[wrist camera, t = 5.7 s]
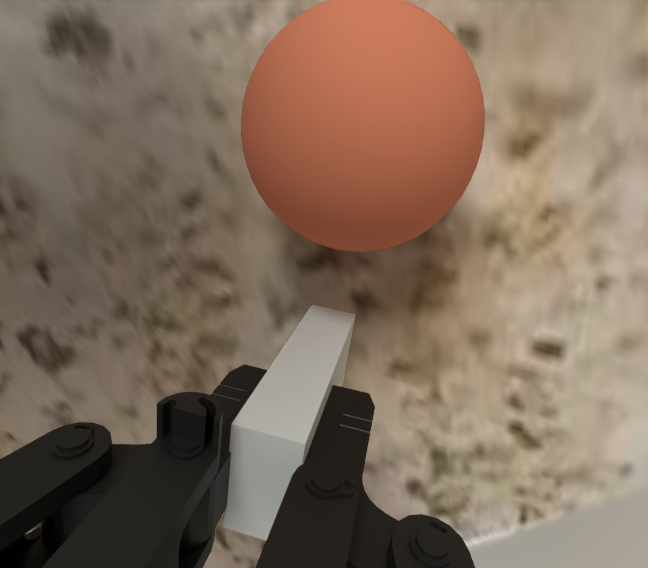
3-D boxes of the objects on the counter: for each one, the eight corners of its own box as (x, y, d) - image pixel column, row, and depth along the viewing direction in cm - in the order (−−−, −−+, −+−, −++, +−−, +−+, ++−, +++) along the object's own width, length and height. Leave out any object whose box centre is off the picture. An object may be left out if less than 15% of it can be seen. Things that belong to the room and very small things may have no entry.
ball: (276, 214, 15) (192, 254, 10) (293, 22, 13) (198, -64, 8) (448, 242, 14) (462, 304, 9) (493, 39, 12) (547, -46, 7)
